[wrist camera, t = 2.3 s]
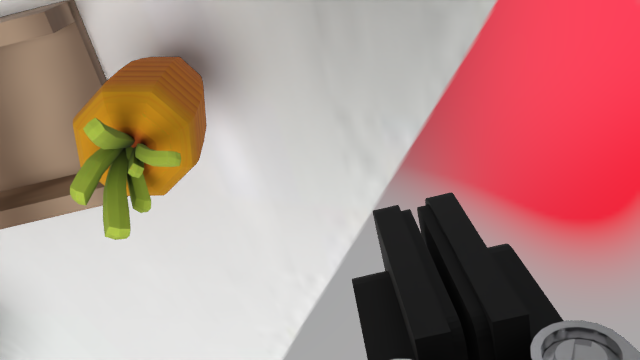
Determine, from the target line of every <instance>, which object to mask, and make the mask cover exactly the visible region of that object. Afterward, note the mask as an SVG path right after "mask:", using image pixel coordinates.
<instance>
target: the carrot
mask: <svg viewBox="0 0 640 360" xmlns="http://www.w3.org/2000/svg"><path fill="white" fill-rule="evenodd" d="M73 129H74V135H75V140H76V145H77V151H78V156H79V162H80V167H81V169H80V170H79V171H78V173H77V175H76V176H75V178H74V180H73V182H72V184H71V186H70V195H71V197H72V199H73V200H74V201H75V202H77V203H78V204H80V205H85V206H86V205H87V203H88V201H89V200H90V198H91V196H92V194H93V192H94V191H95V189H96V187H97V185H98V183H99V182H100V183H102V184H103V185H104V191H103V222H104V231H105V237H109V238H112V239H115V240H117V239H126V238H127V237H128V236H130V218H129V207H128V200H127V196H130V197H131V202H132V206H133V209H135V210H137V211H138V212H140V213H142V212H148V211H149V210H150V209H151V199H150V196H151V195H165V194H166V193H167V192H168V191H169V190H170V189H171V188H172V187H173V186H174V185H175V184H176V183H177V182H178V181H179V180H180V179H181V178H182V177H183V176H184V175H185V174H186V173H187V172H189V171H190V170H191V169H192V168H193V167H194V166H195V165H196V164H197V162H198V160H199V158H200V154H201V150H202V146H203V142H204V137H205V131H206V115H205V102H204V89H203V81H202V78H201V76H200V75H199V74H198V73H197V72H196V71H195V70H194V69H193V68H191V67H190V66H189V65H188V64H187V63H186V62H185V61H184V60H183V59H181V58H180V57H148V58H142V59H138V60H135V61H131V62H130V63H129V64H127V65H126V66H124V67H123V68H122V69H120V70H119V71H118V72H117V73H115V74H114V75H113V76H112V77H111V78H110V79H109V80H107V81H106V82H105V83H104V84H103V86H102V87H101V88H100V89H99V90H98V91H97V92H96V93H95V94H94V96H93V97H92V98H91V99H90V100H89V101H88V102H87V103H86V105H85V106H84V107H83V108H82V109H81V110H80V111H79V112H78V114H77V115H76V116H75V117H74V119H73Z"/></svg>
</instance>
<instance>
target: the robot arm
mask: <svg viewBox="0 0 640 360" xmlns="http://www.w3.org/2000/svg"><path fill="white" fill-rule="evenodd" d="M425 201H426V202H425V203H426V206H421V207H418V208H417V211H418V217H419V223H420V229H421V233H420V231H419V228H418V226H417V224H416V222H415V219H414V217H413V215H412V213H411V210H410V209H409V210H404V211H401V210H400V208H399V206H398V205H396V206H392V207H388V208H383V209H378V210H374V211H373V215H374V220H375V225H376V230H377V234H378V239H379V244H380V248H381V253H382V258H383V262H384V267H385V271H384V272H380V273H376V274H371V275H367V276H363V277H359V278H354V279H352V283H353V288H354V293H355V298H356V303H357V308H358V312H359V318H360V323H361V328H362V333H363V338H364V343H365V348H366V353H367V358H368V360H640V352H639V351H638V350H637V349H636V348H635V347H633V346H632V345H631V344H630V343H629V342H628V341H627V340H626V339H625V338H624V337H622V336H621V335H619V334H617V333H616V332H615V331H613V330H612V329H610V328H607V327H605V326H602V325H600V324H597V323H592V322H586V321H563V320H562V318H561V317H560V315H559V314H558V312H557V311H556V310H555V308H554V307H553V305H552V304H551V303H550V301H549V300H548V298H547V297H546V295H545V294H544V292H543V291H542V290H541V288H540V287H539V285H538V284H537V283H536V281H535V280H534V278H533V277H532V276H531V274H530V273H529V271H528V270H527V268H526V267H525V266H524V264H523V263H522V261H521V260H520V258H519V257H518V256H517V254H516V253H515V252H514V250H513V249H512V247H511V246H510V245H509V244H502V245H498V246H493V247H489V248H487V247H486V245H485V243H484V242H483V240H482V239H481V237H480V236H479V234H478V232H477V231H476V229H475V228H474V226H473V225H472V223H471V221H470V220H469V218H468V216H467V215H466V213H465V212H464V210H463V209H462V207H461V205H460V204H459V202H458V201H457V199H456V198H455V196H454V194H453V193H447V194H443V195H439V196H434V197H430V198H426V200H425Z"/></svg>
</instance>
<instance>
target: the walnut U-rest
mask: <svg viewBox="0 0 640 360" xmlns="http://www.w3.org/2000/svg"><path fill="white" fill-rule="evenodd" d="M106 81H107V80H106V78H105V75H104V73H103V71H102V68H101V66H100V63H99V61H98V58H97V56H96V53H95V51H94V48H93V46H92V44H91V41H90V39H89V36H88V34H87V31H86V29H85V26H84V24H83V22H82V19H81V17H80V14H79V12H78V9H77V7H76V4H75V2H74V0H67V1H63V2H59V3H55V4H51V5H47V6H43V7H39V8H35V9H31V10H27V11H23V12H19V13H15V14H11V15H7V16H3V17H0V229H4V228H8V227H12V226H17V225H21V224H25V223H29V222H34V221H38V220H42V219H46V218H51V217H55V216H59V215H64V214H68V213H72V212H76V211H81V210H85V209H89V208H93V207H98V206H102V205H103V191H104V185H103V184H102V183H100V182H99V183H98V185H97V187H96V189H95V191H94V192H93V194H92V196H91V198H90V200H89V201H88V203H87V205H86V206H85V205H80V204H78V203H77V202H75V201H74V200H73V199H72V197H71V195H70V186H71V184H72V182H73V180H74V178H75V176H76V175H77V173H78V171H79V170H80V169H81V167H80V162H79V156H78V151H77V145H76V140H75V135H74V129H73V119H74V117H75V116H76V115H77V114H78V112H79V111H80V110H81V109H82V108H83V107H84V106H85V105H86V103H87V102H88V101H89V100H90V99H91V98H92V97H93V96H94V94H95V93H96V92H97V91H98V90H99V89H100V88H101V87H102V86H103V84H104V83H105V82H106ZM127 197H128V196H127Z"/></svg>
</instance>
